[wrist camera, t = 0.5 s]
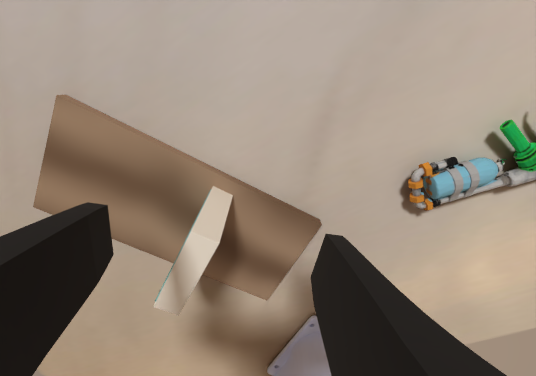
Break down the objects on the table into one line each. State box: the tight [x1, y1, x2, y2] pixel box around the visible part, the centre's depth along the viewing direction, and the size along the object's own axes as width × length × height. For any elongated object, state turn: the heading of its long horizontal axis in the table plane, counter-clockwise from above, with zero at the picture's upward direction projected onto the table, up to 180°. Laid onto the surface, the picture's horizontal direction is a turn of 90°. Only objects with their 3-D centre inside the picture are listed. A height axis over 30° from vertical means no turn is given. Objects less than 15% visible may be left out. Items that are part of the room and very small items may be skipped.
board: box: [33, 95, 322, 300], centre depth 20 cm, size 9×20×1 cm, turn 61°
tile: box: [153, 186, 233, 316], centre depth 17 cm, size 6×2×6 cm, turn 151°
